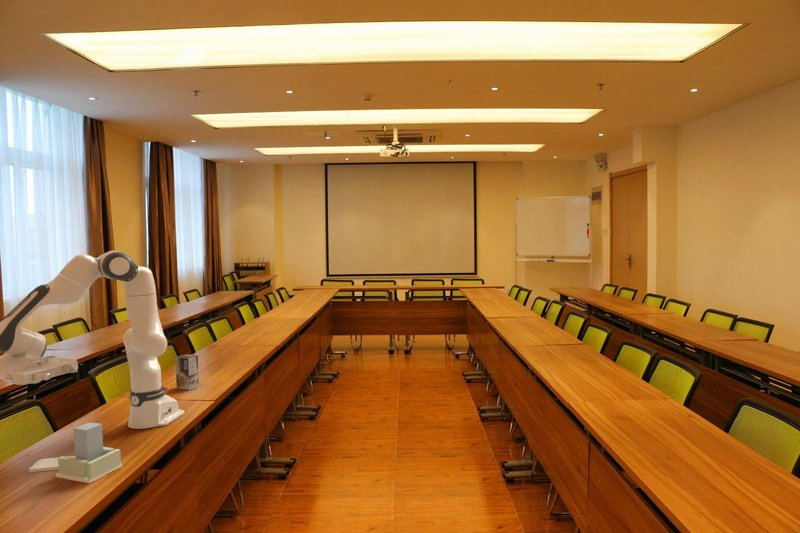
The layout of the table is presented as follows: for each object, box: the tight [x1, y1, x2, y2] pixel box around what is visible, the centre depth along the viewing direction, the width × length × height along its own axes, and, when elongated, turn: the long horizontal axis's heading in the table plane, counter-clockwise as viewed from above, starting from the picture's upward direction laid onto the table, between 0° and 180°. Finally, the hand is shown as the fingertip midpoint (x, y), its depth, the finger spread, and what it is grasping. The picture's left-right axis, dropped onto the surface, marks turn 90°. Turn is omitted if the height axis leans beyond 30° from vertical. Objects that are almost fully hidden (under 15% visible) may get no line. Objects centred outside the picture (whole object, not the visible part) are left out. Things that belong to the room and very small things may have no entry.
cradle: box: [55, 446, 123, 484], centre depth 163 cm, size 12×14×6 cm
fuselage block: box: [73, 422, 104, 462], centre depth 163 cm, size 6×6×14 cm
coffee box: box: [174, 354, 200, 391], centre depth 254 cm, size 9×6×16 cm
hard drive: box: [27, 455, 75, 473], centre depth 169 cm, size 2×8×12 cm
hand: (62, 373), depth 170 cm, fingers open, 8 cm apart
